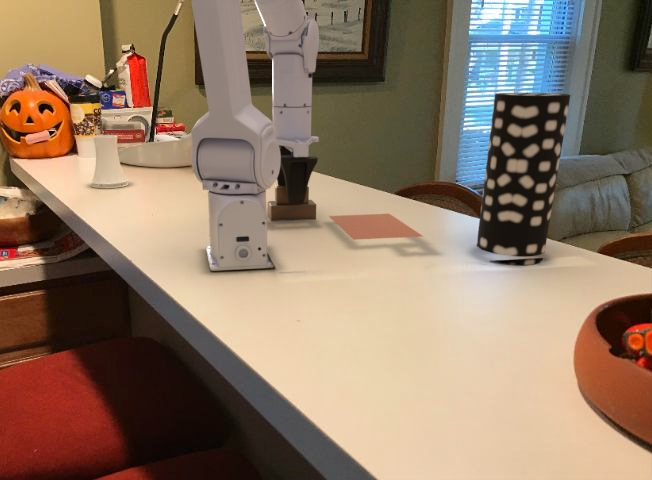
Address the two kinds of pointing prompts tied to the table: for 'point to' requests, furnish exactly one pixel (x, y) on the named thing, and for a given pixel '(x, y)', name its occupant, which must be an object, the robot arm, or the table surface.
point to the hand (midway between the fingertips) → (291, 198)
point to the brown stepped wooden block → (290, 207)
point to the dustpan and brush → (159, 152)
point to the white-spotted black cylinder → (521, 174)
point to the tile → (374, 226)
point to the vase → (107, 163)
